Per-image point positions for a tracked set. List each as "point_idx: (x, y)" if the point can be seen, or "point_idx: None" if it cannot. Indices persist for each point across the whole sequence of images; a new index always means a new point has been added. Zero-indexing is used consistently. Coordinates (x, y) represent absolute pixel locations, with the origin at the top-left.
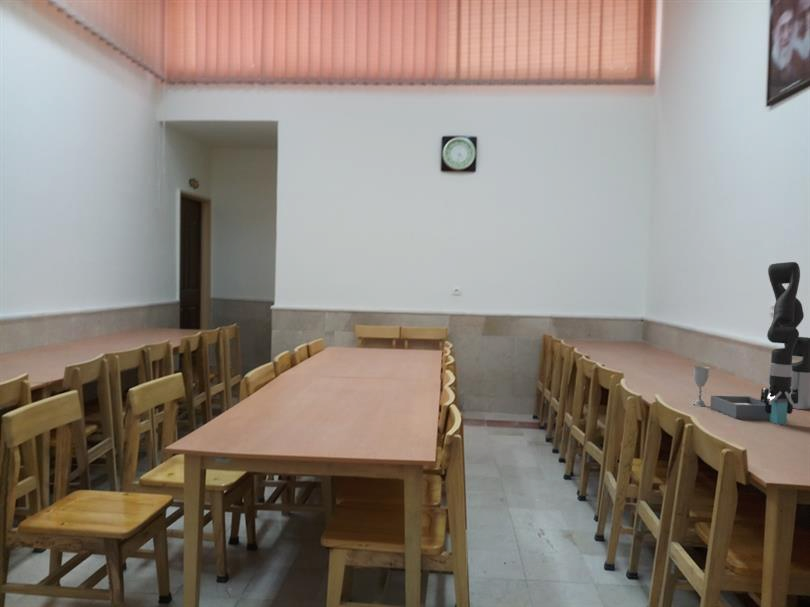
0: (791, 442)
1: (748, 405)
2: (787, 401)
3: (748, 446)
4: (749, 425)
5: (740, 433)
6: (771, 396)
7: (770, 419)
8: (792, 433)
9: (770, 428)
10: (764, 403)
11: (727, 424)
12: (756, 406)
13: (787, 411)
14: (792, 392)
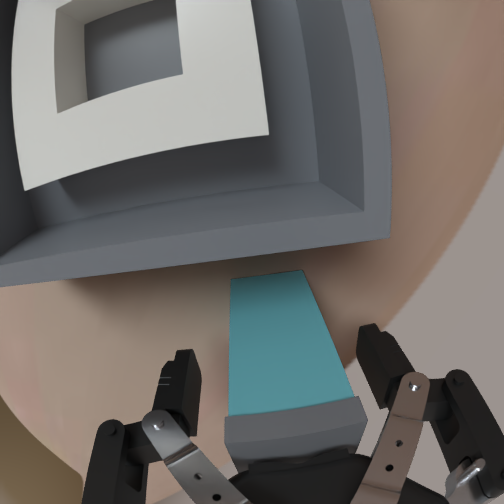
0: (171, 475)
1: (45, 280)
2: None
3: (76, 469)
4: (83, 361)
5: (56, 425)
6: (215, 479)
7: (230, 294)
8: None
9: None
10: (342, 40)
11: (13, 346)
12: (121, 265)
13: (363, 344)
14: (450, 490)
